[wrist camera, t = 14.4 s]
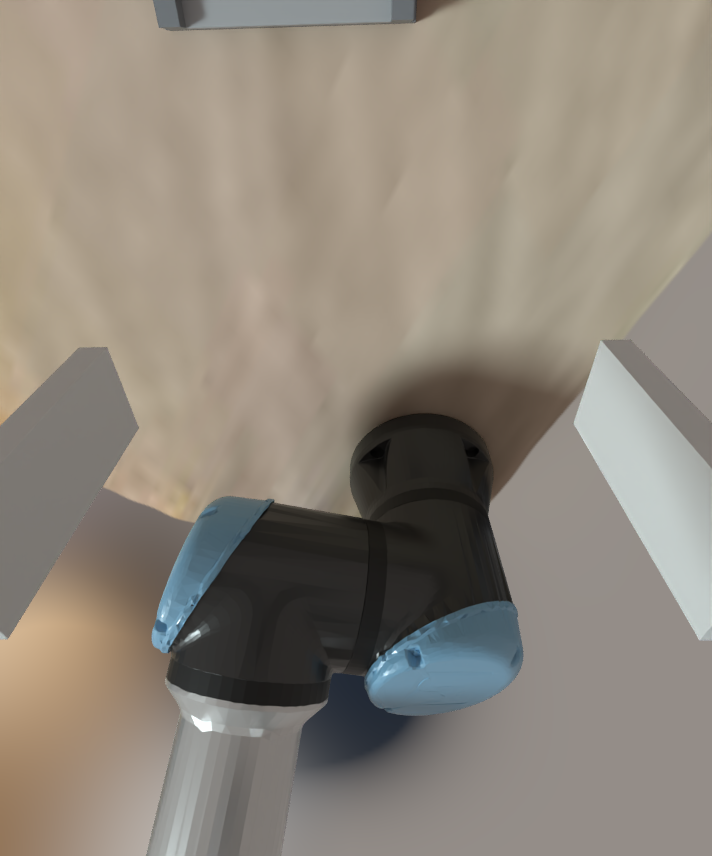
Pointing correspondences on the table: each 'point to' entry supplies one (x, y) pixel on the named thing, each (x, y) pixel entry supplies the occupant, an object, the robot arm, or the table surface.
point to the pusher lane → (280, 13)
